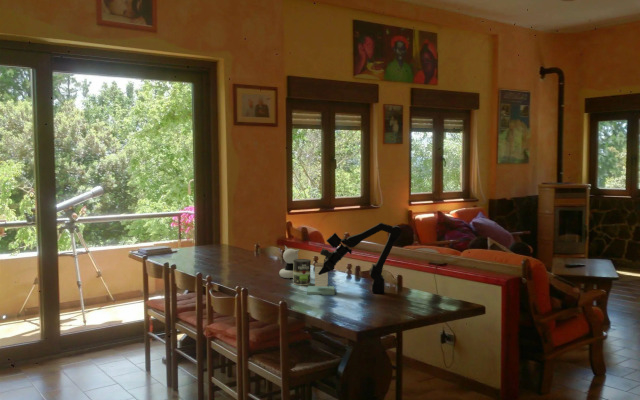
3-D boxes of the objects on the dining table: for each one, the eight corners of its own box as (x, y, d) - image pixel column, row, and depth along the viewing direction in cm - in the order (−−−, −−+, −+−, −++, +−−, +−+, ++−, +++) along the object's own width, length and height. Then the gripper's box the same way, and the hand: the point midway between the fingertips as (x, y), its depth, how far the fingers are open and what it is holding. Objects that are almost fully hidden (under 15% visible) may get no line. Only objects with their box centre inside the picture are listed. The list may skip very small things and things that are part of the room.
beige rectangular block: (327, 283, 327) (327, 263, 326) (327, 286, 320) (327, 265, 320) (315, 283, 327) (315, 262, 327) (314, 286, 320) (314, 265, 320)
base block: (334, 289, 331) (334, 286, 331) (334, 295, 317) (334, 292, 316) (308, 289, 332) (308, 285, 332) (306, 295, 317) (307, 291, 317)
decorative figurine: (306, 276, 368) (307, 244, 367) (296, 280, 355) (296, 247, 354) (286, 273, 374) (286, 243, 373) (275, 277, 361) (275, 245, 360)
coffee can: (312, 285, 341) (312, 261, 340) (295, 285, 338) (295, 261, 337) (308, 281, 351) (308, 258, 350) (291, 282, 348) (291, 258, 347)
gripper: (329, 241, 332) (309, 260, 333) (328, 245, 313) (307, 265, 314) (342, 255, 332) (323, 274, 333) (342, 260, 313) (322, 280, 314)
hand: (318, 273), depth 323 cm, fingers closed on beige rectangular block, 7 cm apart
